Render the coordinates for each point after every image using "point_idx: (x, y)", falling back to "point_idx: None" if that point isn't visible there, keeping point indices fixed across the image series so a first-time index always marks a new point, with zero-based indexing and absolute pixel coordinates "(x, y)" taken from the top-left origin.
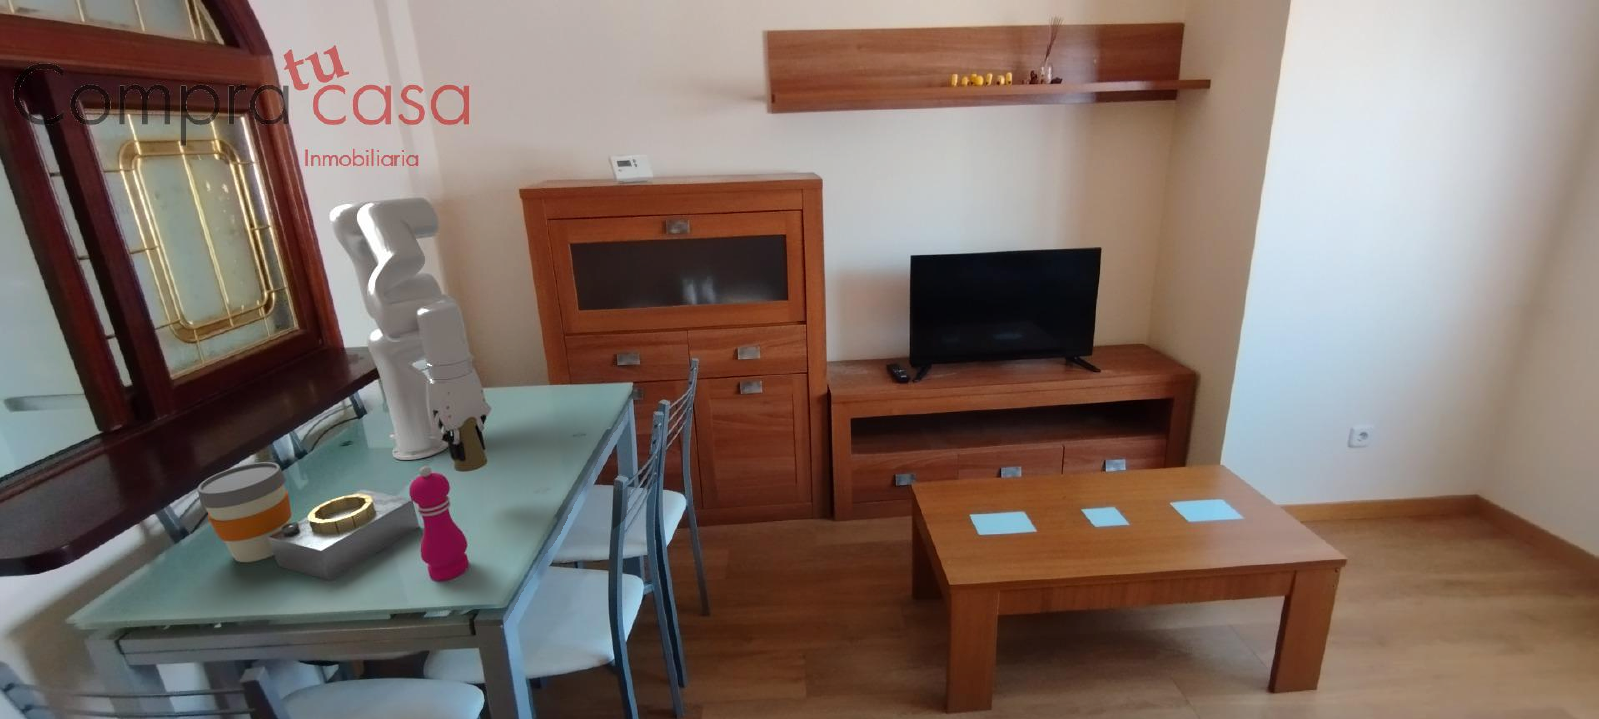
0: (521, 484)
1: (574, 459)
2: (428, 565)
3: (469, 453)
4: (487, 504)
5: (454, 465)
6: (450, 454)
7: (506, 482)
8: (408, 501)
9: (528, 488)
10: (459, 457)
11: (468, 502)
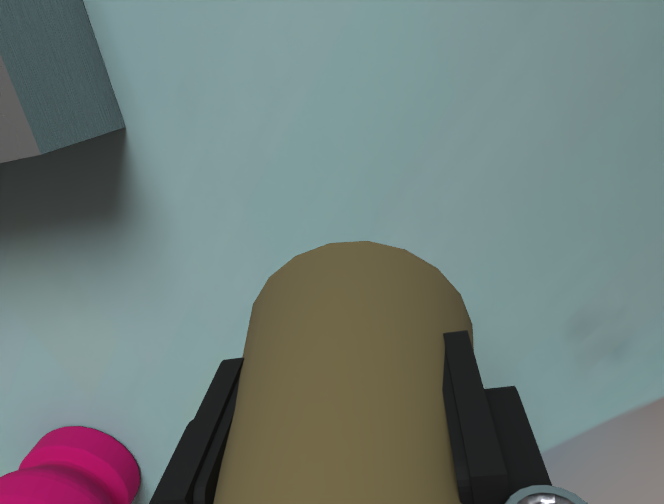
0: (615, 205)
1: None
2: (23, 463)
3: None
4: (400, 226)
5: (250, 321)
6: (183, 434)
7: (608, 110)
8: (17, 158)
9: (592, 269)
10: None
11: (370, 124)
